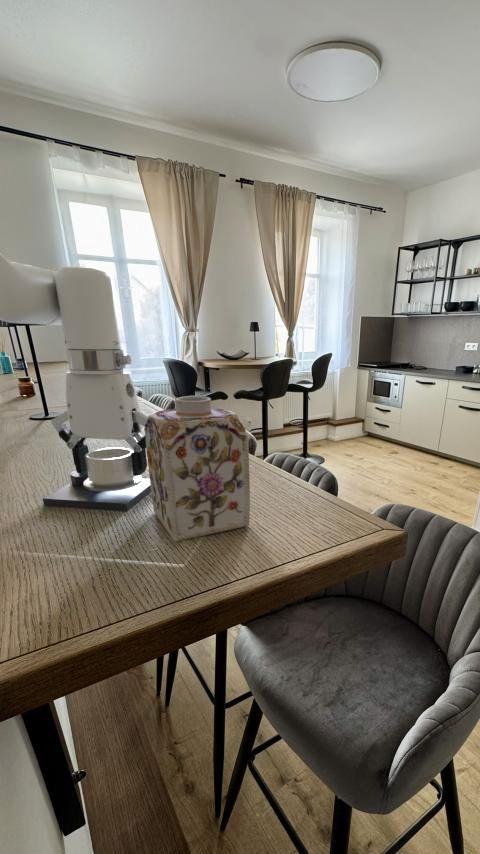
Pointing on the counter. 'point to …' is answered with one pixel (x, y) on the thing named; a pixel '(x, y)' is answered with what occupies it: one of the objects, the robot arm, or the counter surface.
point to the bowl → (109, 466)
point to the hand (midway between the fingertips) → (111, 472)
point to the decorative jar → (198, 468)
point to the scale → (96, 496)
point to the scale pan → (94, 487)
